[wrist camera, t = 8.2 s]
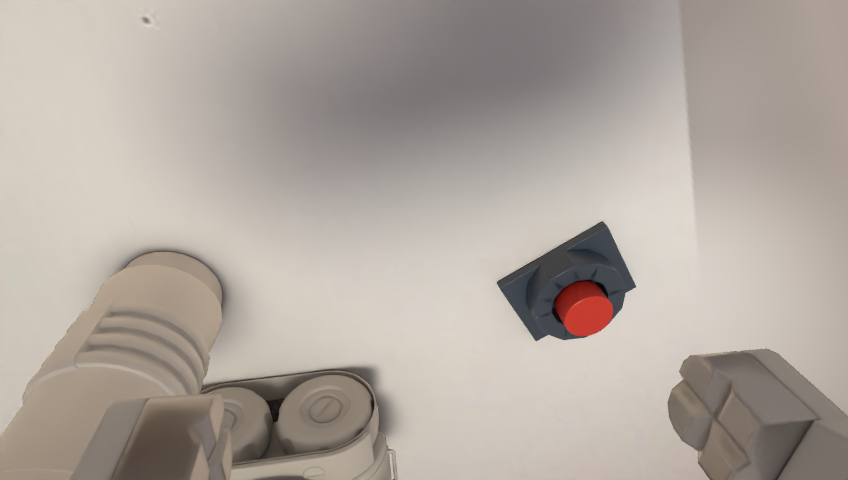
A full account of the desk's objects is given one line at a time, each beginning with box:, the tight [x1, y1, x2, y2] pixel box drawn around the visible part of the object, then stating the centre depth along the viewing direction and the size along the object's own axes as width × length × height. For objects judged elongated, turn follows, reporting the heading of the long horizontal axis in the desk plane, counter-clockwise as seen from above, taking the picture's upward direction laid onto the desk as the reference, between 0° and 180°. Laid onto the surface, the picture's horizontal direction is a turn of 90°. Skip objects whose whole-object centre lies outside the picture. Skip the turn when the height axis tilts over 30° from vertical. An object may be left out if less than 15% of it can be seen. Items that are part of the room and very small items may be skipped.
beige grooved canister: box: [0, 252, 223, 480], centre depth 24 cm, size 7×7×15 cm
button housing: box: [497, 222, 636, 341], centre depth 33 cm, size 8×6×2 cm
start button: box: [555, 281, 613, 336], centre depth 32 cm, size 3×3×2 cm
